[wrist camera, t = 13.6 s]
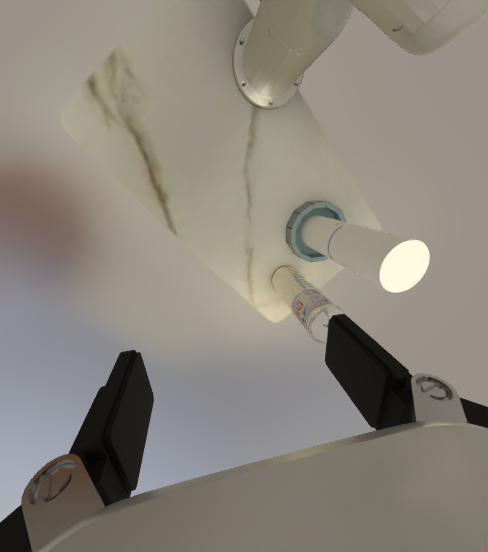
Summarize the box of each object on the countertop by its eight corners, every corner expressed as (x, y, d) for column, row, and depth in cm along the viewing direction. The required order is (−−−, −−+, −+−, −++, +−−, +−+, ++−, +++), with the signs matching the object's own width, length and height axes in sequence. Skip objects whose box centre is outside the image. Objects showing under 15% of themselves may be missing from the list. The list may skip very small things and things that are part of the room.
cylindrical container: (293, 228, 51) (371, 265, 28) (318, 208, 50) (420, 227, 27) (308, 252, 54) (390, 302, 31) (333, 232, 53) (435, 269, 30)
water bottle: (288, 294, 58) (347, 365, 35) (266, 285, 56) (313, 354, 33) (302, 271, 56) (373, 330, 34) (279, 261, 54) (339, 316, 31)
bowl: (286, 204, 50) (291, 205, 47) (341, 199, 51) (349, 200, 49) (286, 260, 55) (290, 264, 52) (336, 254, 56) (343, 257, 54)
